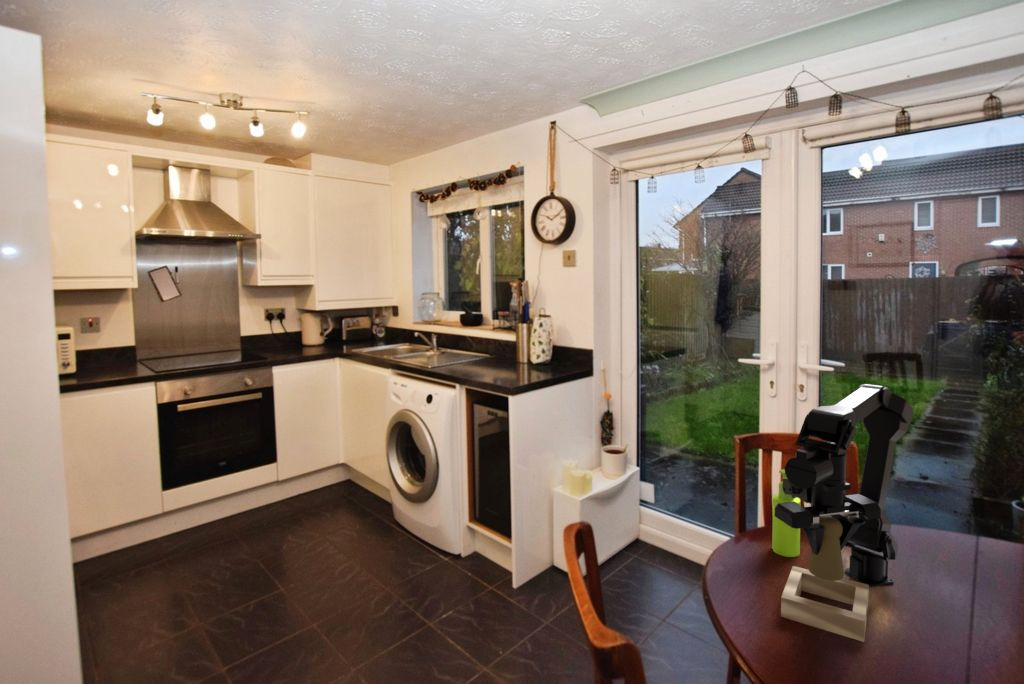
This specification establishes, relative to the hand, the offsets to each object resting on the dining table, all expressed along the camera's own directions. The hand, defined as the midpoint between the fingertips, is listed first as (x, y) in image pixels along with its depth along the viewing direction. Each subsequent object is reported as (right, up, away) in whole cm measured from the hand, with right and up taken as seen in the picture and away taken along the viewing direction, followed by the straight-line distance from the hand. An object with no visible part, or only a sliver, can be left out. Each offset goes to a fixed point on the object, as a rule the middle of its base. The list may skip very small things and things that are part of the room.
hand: (826, 552), depth 103 cm
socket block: (+1, -12, +1) cm, 12 cm away
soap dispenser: (+5, -9, +24) cm, 26 cm away
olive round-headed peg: (0, -4, 0) cm, 4 cm away
